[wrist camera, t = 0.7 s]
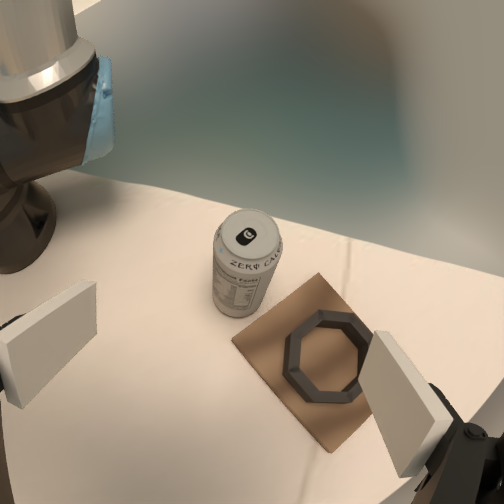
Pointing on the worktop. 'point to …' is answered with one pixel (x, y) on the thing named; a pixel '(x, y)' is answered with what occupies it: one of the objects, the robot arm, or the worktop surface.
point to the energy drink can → (244, 261)
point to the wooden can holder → (313, 360)
